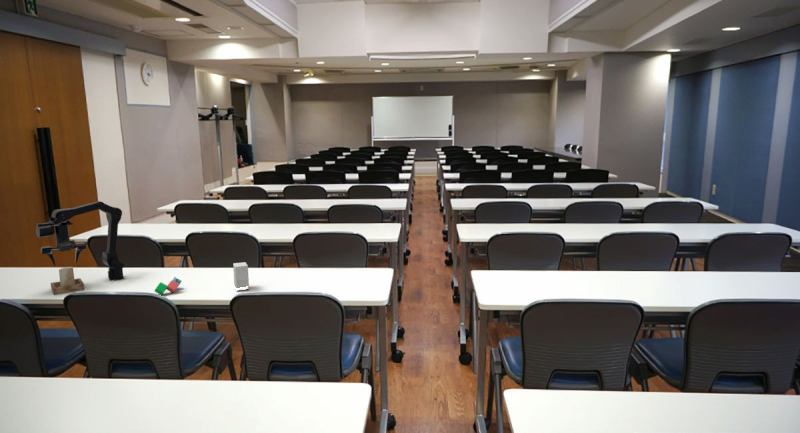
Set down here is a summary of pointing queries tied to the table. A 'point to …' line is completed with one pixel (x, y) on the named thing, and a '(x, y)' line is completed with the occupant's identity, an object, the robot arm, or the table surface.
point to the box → (66, 276)
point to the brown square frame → (67, 287)
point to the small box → (240, 275)
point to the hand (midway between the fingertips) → (65, 264)
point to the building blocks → (168, 286)
